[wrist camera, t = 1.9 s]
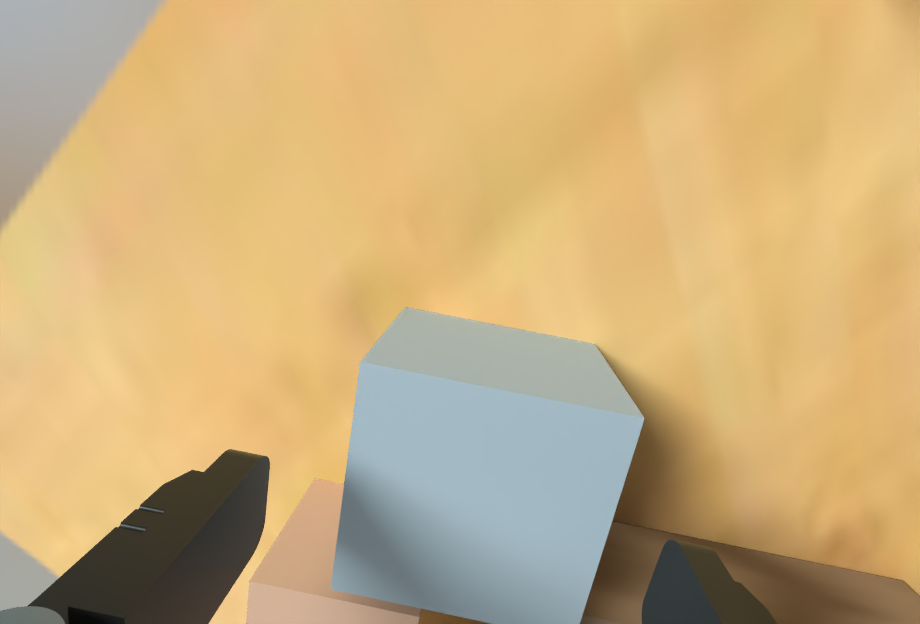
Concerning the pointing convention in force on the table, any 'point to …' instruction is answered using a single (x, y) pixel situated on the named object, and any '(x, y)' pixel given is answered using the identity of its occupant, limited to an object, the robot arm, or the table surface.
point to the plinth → (748, 584)
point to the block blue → (482, 470)
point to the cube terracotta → (313, 572)
